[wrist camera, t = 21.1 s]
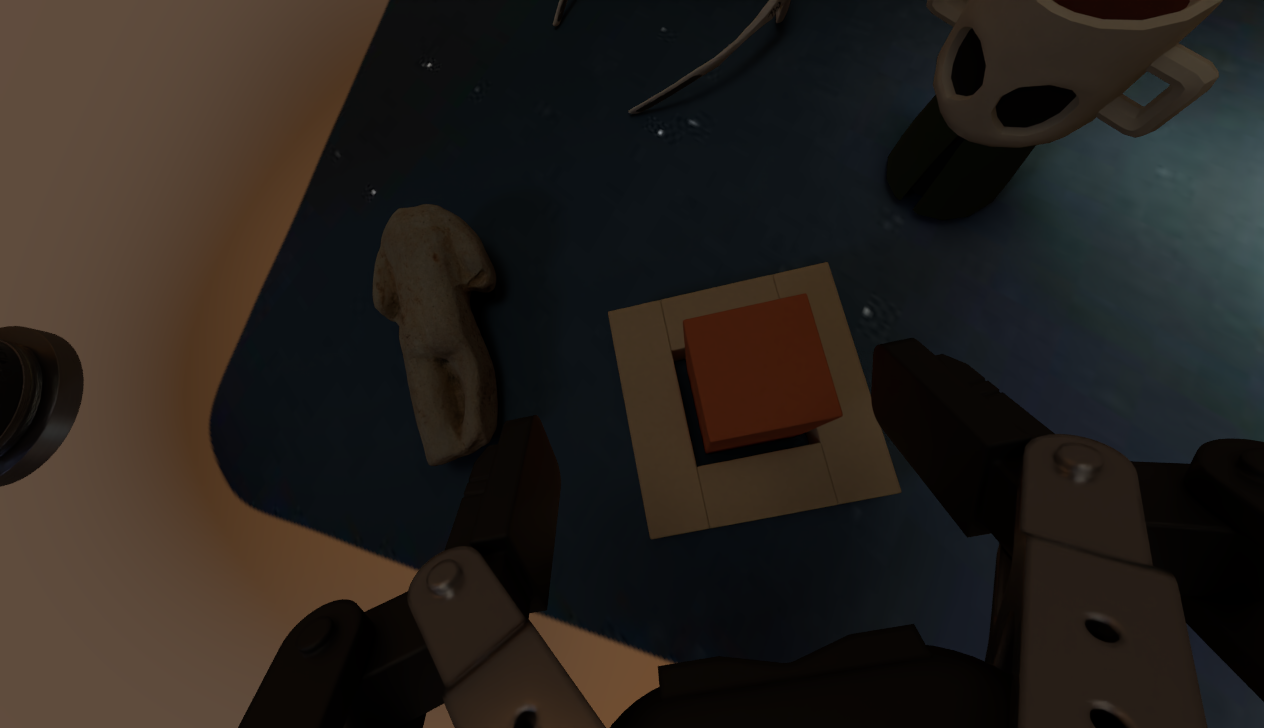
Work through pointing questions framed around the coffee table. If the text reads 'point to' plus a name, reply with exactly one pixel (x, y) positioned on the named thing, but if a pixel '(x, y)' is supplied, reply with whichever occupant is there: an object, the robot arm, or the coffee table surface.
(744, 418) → the post
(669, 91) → the sunglasses
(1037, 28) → the character mug
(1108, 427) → the coffee table surface
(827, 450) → the base pad
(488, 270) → the sculpture
